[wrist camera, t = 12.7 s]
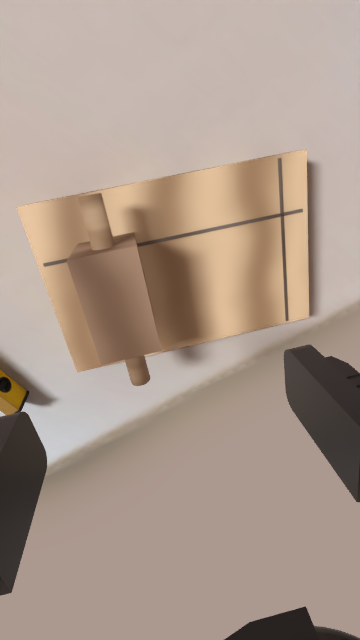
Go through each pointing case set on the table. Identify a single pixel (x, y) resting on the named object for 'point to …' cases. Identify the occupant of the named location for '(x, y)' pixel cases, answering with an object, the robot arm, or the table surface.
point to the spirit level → (11, 395)
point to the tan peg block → (114, 292)
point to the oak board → (191, 250)
